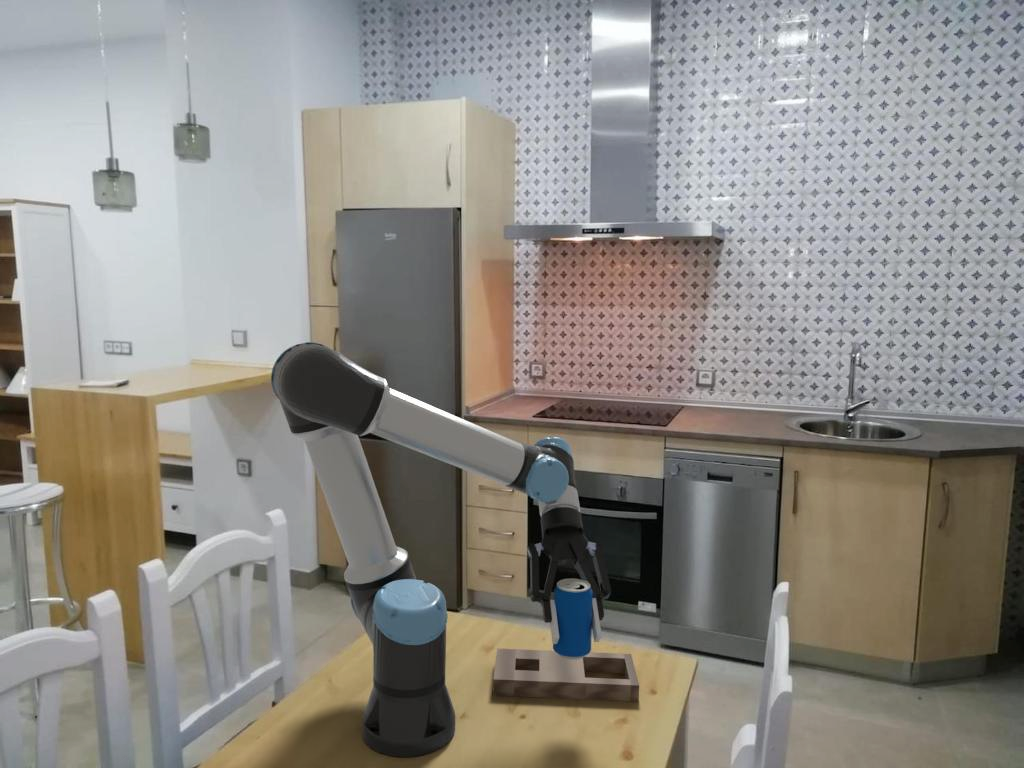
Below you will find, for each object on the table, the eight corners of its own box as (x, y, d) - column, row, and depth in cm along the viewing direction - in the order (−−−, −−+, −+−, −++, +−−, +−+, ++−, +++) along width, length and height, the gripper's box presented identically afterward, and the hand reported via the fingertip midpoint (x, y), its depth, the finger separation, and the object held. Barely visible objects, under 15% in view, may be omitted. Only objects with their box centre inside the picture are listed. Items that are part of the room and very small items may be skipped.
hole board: (492, 695, 133) (493, 679, 133) (496, 663, 145) (497, 648, 145) (638, 701, 132) (639, 685, 132) (630, 668, 144) (631, 653, 144)
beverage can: (588, 663, 123) (590, 593, 121) (550, 659, 124) (551, 590, 123) (592, 646, 129) (594, 579, 128) (555, 641, 130) (557, 576, 129)
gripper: (607, 523, 141) (629, 645, 127) (506, 526, 138) (516, 650, 124) (615, 503, 135) (639, 629, 121) (510, 506, 133) (521, 634, 118)
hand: (577, 639), depth 123 cm, fingers closed on beverage can, 6 cm apart
